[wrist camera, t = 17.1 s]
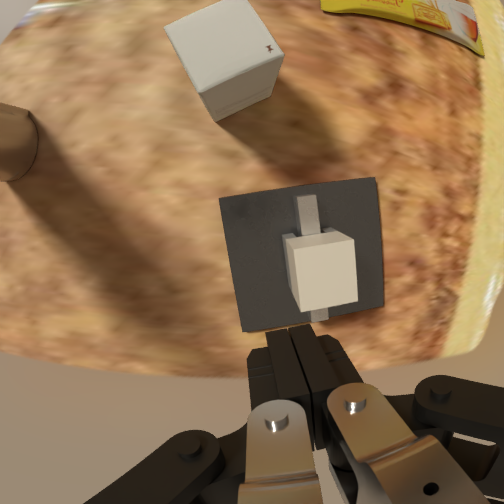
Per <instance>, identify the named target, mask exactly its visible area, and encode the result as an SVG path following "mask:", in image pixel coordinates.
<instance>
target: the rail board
mask: <svg viewBox="0 0 504 504" xmlns="http://www.w3.org/2000/svg"><path fill="white" fill-rule="evenodd" d="M219 204H220V210H221V215H222V221H223V227H224V233H225V239H226V244H227V250H228V256H229V261H230V267H231V273H232V278H233V284H234V289H235V295H236V300H237V305H238V311H239V316H240V321H241V327H242V332H249V331H255V330H261V329H268V328H274V327H280V326H285V325H291V324H297V323H302V322H308V321H311V322H312V323H313V322H318V321H323V320H328V319H329V317H333V316H338V315H343V314H348V313H353V312H357V311H362V310H366V309H371V308H375V307H380V306H383V268H382V248H381V232H380V220H379V209H378V199H377V189H376V181H375V177H368V178H359V179H350V180H341V181H333V182H324V183H316V184H309V185H301V186H294V187H287V188H280V189H273V190H266V191H259V192H253V193H247V194H240V195H234V196H228V197H222V198H219ZM328 227H331V228H333V229H335V230H337V231H339V232H341V233H343V234H345V235H346V236H348V237H350V238H352V239H354V247H355V260H356V275H357V293H358V301H356V302H351V303H347V304H342V305H337V306H332V307H327V308H321V309H316V310H311V311H305V312H301V311H300V309H299V307H298V305H297V302H296V300H295V298H294V296H293V294H292V292H291V289H290V287H289V283H288V276H287V268H286V261H285V253H284V246H283V239H282V235H283V234H290V233H293V234H294V235H295V236H296V237H302V236H309V235H315V234H321V230H320V229H322V228H328Z"/></svg>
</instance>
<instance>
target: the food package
mask: <svg viewBox="0 0 504 504" xmlns="http://www.w3.org/2000/svg"><path fill="white" fill-rule="evenodd" d="M320 2H321V4H320V5H321V7H320V8H322V10H324V11H328V12H335V13H359V14H365V15H371V16H376V17H381V18H386V19H390V20H394V21H398V22H402V23H405V24H409V25H412V26H416V27H419V28H422V29H425V30H428V31H431V32H434V33H437V34H439V35H442V36H444V37H447V38H449V39H452V40H454V41H456V42H458V43H461V44H463V45H465V46H467V47H468V48H470V49H472V50H473V51H475V52H476V53H478V54H480V55H482V56H485V55H484V49H483V45H482V42H481V41H482V40H481V37H480V36H481V35H480V32H479V28H478V25H477V21H476V18H475V14H474V10H473V8H472V7H471V6H469V5H467V4H465V3H461V2H458V1H455V0H320Z"/></svg>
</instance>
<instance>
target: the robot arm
mask: <svg viewBox="0 0 504 504" xmlns="http://www.w3.org/2000/svg"><path fill="white" fill-rule="evenodd" d="M37 145H38V135H37V130H36V126H35V124H34V122H33V121H32V120H31V119H30V118H29V115H28V110H27V109H23V108H19V107H16V106H12V105H8V104H4V103H0V181H1V182H2V181H13V180H17V179H19V178H20V177H22V176H23V175H24V174H25V173H26V172H27V171H28V170H29V168H30V167H31V165H32V163H33V161H34V158H35V155H36V151H37ZM265 334H266V340H267V346H268V347H263V348H257V349H252V351H251V352H250V354H249V356H248V358H247V368H248V378H249V389H250V399H251V413H250V415H249V417H248V421H247V423H246V424H245V425H244V426H243V427H242V428H240V429H239V430H237V431H235V432H233V433H231V434H228V435H226V436H223V437H220V438H216V437H215V436H214V435H213V434H211V433H209V432H206V431H202V430H189V431H184V432H181V433H178V434H176V435H174V436H173V437H171V438H170V439H169V440H167V441H166V442H165V443H164V444H163V445H161V446H160V447H159V448H158V449H156V450H155V451H154V452H153V453H151V454H150V455H149V456H147V457H146V458H145V459H144V460H142V461H141V462H140V463H139V464H137V465H136V466H135V467H133V468H132V469H131V470H129V471H128V472H127V473H125V474H124V475H123V476H121V477H120V478H119V479H117V480H116V481H115V482H113V483H112V484H110V485H109V486H108V487H106V488H105V489H103V490H102V491H101V492H99V493H98V494H97V495H95V496H93V497H92V498H91V499H89V500H88V501H86V502H85V503H84V504H323V500H322V495H321V488H320V483H319V478H318V475H317V474H316V470H315V464H314V459H313V453H312V451H314V443H315V446H316V449H317V450H320V449H324V448H326V450H327V453H328V456H329V469H330V472H331V474H332V476H333V478H334V481H335V483H336V485H337V487H338V490H339V492H340V494H341V496H342V499H343V501H344V503H345V504H504V502H502V501H498V500H494V499H489V498H486V497H485V496H484V495H486V496H491V497H495V498H500V499H504V388H502V387H498V386H493V385H488V384H483V383H478V382H474V381H469V380H464V379H460V378H456V377H451V376H446V375H436V376H431V377H428V378H426V379H424V380H422V381H421V382H420V383H419V384H418V385H417V386H416V388H415V393H414V394H408V395H398V396H386V395H383V394H382V393H381V392H380V391H379V390H378V389H377V388H376V387H374V386H372V385H370V384H366V383H364V382H363V380H362V379H361V377H360V375H359V374H358V372H357V370H356V369H355V367H354V365H353V364H352V362H351V361H350V359H349V358H348V356H347V354H346V352H345V351H344V350H343V348H342V346H341V344H340V343H339V341H338V340H337V339H335V338H333V337H331V336H330V335H328V334H327V335H322V336H318V337H316V335H315V333H314V331H313V329H312V327H311V325H310V324H305V325H300V326H295V327H290V328H288V330H287V328H286V329H281V330H275V331H270V332H265ZM454 432H455V433H459V434H463V435H467V436H471V437H474V438H478V439H483V440H487V441H492V442H494V443H496V444H495V445H491V446H487V445H483V444H478V443H475V442H471V441H466V440H463V439H459V438H456V437H453V434H454Z"/></svg>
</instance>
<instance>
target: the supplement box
mask: <svg viewBox="0 0 504 504" xmlns="http://www.w3.org/2000/svg"><path fill="white" fill-rule="evenodd" d="M164 30H165V32H166V34H167V36H168V38H169V40H170V42H171V44H172V46H173V48H174V50H175V52H176V53H177V55H178V57H179V59H180V61H181V63H182V65H183V67H184V69H185V70H186V72H187V74H188V76H189V78H190V80H191V81H192V83H193V85H194V87H195V89H196V91H197V93H198V94H199V96H200V98H201V100H202V101H203V103H204V105H205V107H206V108H207V110H208V112H209V114H210V115H211V117H212V119H213V120H214V122H217V121H219V120H221V119H223V118H225V117H228V116H230V115H232V114H234V113H236V112H238V111H240V110H242V109H244V108H246V107H248V106H250V105H252V104H254V103H257V102H259V101H261V100H263V99H265V98H268V97H270V96H271V94H272V91H273V88H274V85H275V82H276V79H277V76H278V73H279V70H280V67H281V64H282V62H283V59H284V56H285V54H284V53H283V51H282V50H281V48H280V47H279V45H278V44H277V42H276V41H275V39H274V38H273V36H272V35H271V33H270V32H269V31H268V29H267V28H266V26H265V25H264V23H263V22H262V20H261V19H260V18H259V16H258V15H257V13H256V12H255V10H254V9H253V8H252V6H251V5H250V3H249V2H248V0H222V1H220V2H217V3H215V4H212V5H210V6H208V7H205V8H203V9H201V10H198V11H196V12H194V13H192V14H189V15H187V16H185V17H183V18H181V19H179V20H177V21H175V22H173V23H171V24H169V25H167V26H165V27H164Z"/></svg>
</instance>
